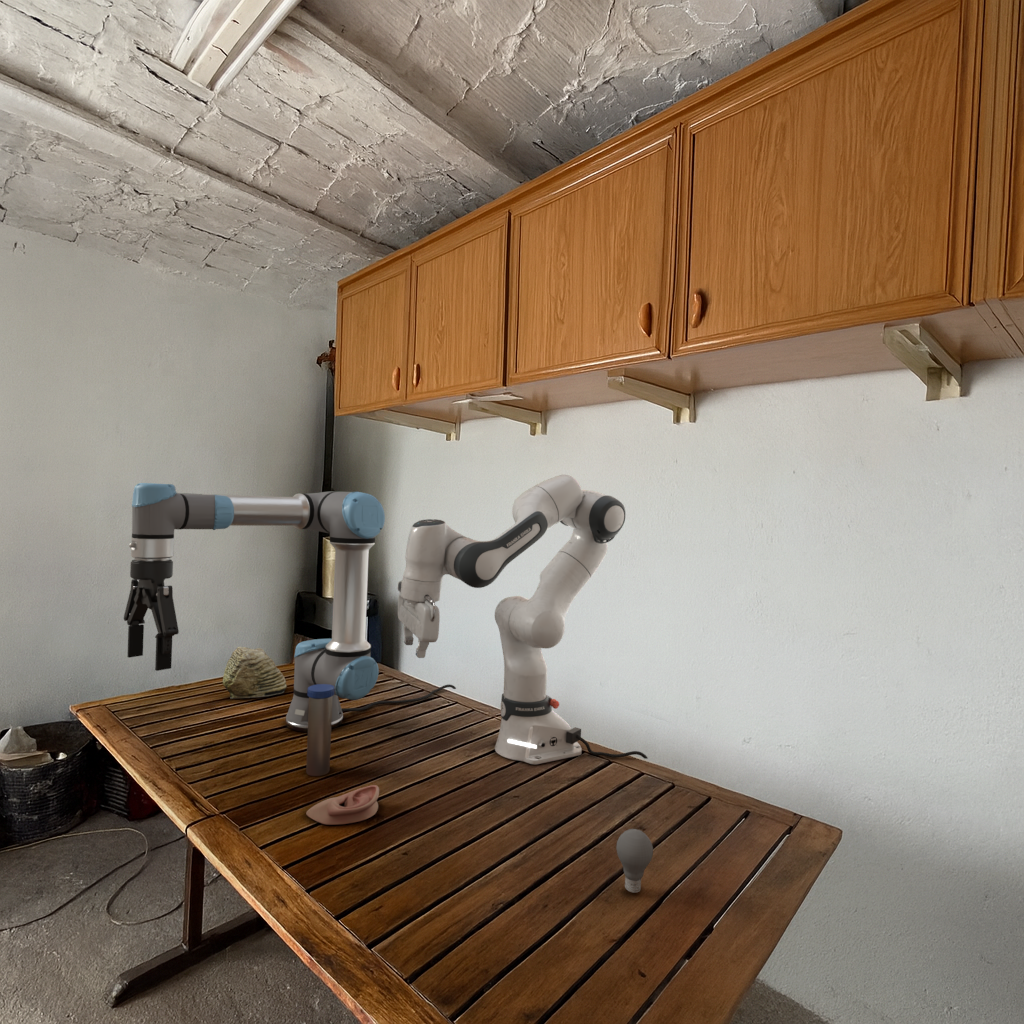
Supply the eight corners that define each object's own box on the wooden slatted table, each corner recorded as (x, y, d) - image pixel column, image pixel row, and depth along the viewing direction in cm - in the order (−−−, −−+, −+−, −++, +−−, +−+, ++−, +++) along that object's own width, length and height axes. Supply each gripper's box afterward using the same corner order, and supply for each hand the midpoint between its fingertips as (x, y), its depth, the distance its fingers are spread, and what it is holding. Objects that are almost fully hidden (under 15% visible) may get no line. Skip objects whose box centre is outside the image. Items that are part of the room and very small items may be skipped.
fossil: (218, 695, 195) (220, 647, 195) (278, 685, 208) (279, 640, 207) (228, 703, 189) (230, 653, 188) (289, 692, 201) (290, 645, 201)
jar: (314, 765, 149) (317, 685, 149) (333, 768, 148) (336, 687, 147) (301, 774, 144) (304, 691, 144) (321, 777, 143) (325, 694, 142)
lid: (316, 689, 149) (316, 682, 149) (339, 692, 148) (339, 685, 148) (301, 696, 143) (302, 689, 143) (325, 700, 142) (325, 692, 142)
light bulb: (610, 879, 108) (613, 822, 108) (644, 879, 109) (647, 822, 109) (619, 902, 102) (622, 840, 102) (655, 901, 103) (658, 840, 103)
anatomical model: (298, 800, 123) (327, 775, 135) (298, 820, 123) (326, 794, 135) (362, 810, 121) (386, 784, 132) (361, 830, 121) (385, 803, 132)
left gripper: (108, 554, 134) (104, 654, 134) (159, 565, 118) (155, 678, 119) (146, 552, 140) (143, 648, 140) (199, 563, 124) (195, 671, 124)
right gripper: (449, 601, 135) (442, 665, 136) (421, 582, 153) (414, 638, 154) (421, 600, 132) (413, 665, 133) (395, 581, 151) (389, 637, 151)
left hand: (148, 662), depth 129 cm, fingers open, 13 cm apart
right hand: (414, 650), depth 144 cm, fingers open, 8 cm apart
